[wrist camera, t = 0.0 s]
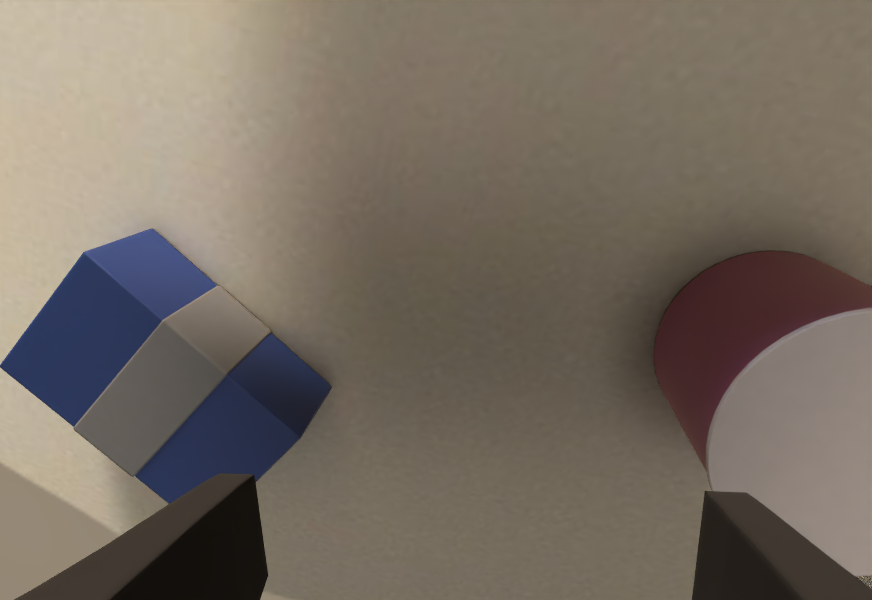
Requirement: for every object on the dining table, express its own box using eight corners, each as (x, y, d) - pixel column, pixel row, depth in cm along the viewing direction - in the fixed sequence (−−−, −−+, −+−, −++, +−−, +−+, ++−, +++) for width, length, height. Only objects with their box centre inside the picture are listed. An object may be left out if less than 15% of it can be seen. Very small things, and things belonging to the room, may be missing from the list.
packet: (334, 384, 21) (301, 437, 18) (248, 470, 23) (202, 535, 19) (154, 226, 20) (82, 250, 17) (75, 327, 22) (-5, 368, 18)
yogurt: (852, 445, 20) (995, 584, 14) (641, 439, 21) (694, 569, 15) (892, 244, 18) (1077, 310, 12) (656, 245, 19) (725, 308, 13)
